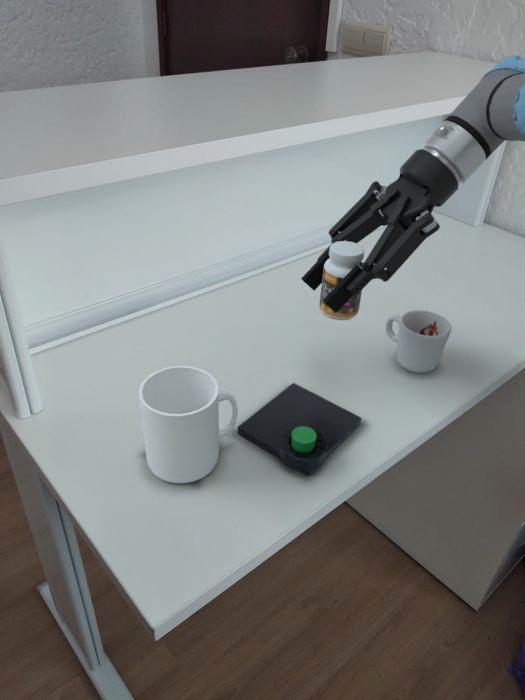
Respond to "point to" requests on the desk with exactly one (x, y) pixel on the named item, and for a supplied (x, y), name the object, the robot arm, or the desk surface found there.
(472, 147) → the robot arm
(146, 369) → the desk surface
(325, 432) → the scale
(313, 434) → the tare button
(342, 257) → the pill bottle
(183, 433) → the mug
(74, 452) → the desk surface
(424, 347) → the cup
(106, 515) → the desk surface
